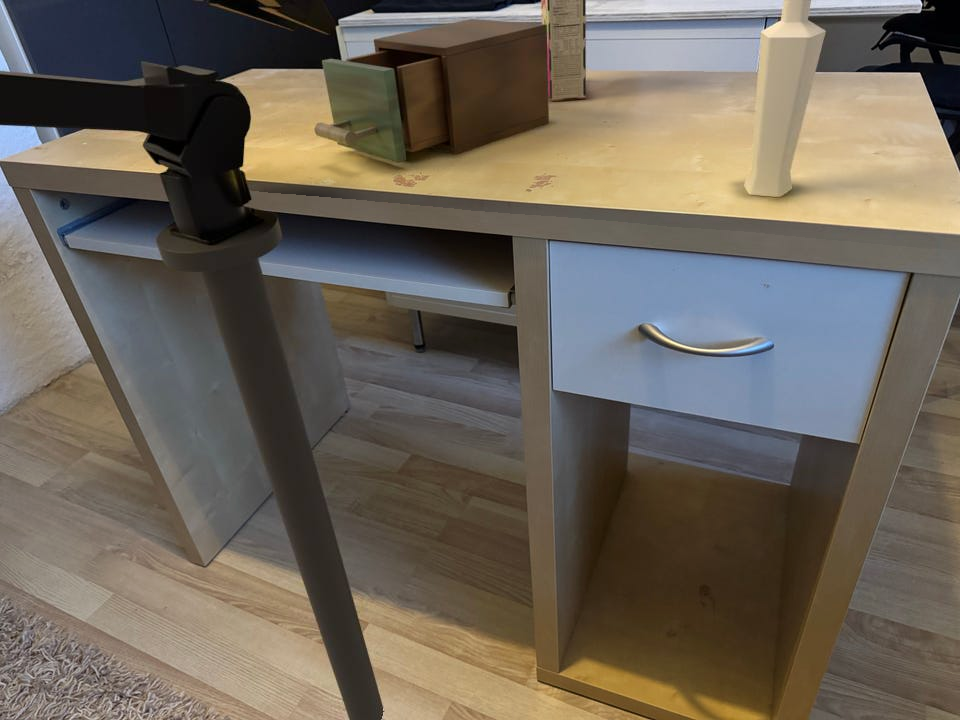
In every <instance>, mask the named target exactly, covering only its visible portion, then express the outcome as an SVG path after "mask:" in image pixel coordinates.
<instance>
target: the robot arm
mask: <svg viewBox="0 0 960 720" xmlns="http://www.w3.org/2000/svg"><path fill="white" fill-rule="evenodd" d="M196 1H197V2H204V1H205V0H194V2H196ZM206 3H207V4H208V5H210V6H213V7H217V8H220V9H224V10H226V11H229V12H232V13H235V14H240V15H243V16H246V17H248V18H252V19H255V20H259V21H262V22H265V23H268V24H271V25H273V26H278V27H280V28H282V29H286V30H289V31H293V32H294V31H296V30H297V29H298V26H299V25H302V26H304V27H306V28H309V29H311V30H314V31H317V32H319V33H322V34H325V35H328V36H329V35H330V36H331V35H333V32H334V30H335V29H336V26H337V25H336V22H335V21H334V19H333V17H332V15H331V14H330V12H329V10H328V9H327V7H326V5H325V4H324V2H323V1H322V0H207V1H206ZM140 67H141V71H142V76H143V77H141V78H136V79H130V80H123V81H122V80H121V81H117V80H108V79H107V80H106V79H97V78H95V79H94V78H84V77H83V78H82V77H74V76H62V75H52V74H51V75H50V74H40V73H30V72H17V71H7V70H0V126H9V127H10V126H11V127H30V128H31V127H32V128H55V129H56V128H57V129H77V130H97V131H98V130H100V131H118V132H119V131H120V132H123V131H124V132H138V133H144V134H146V137H145V138H144V141H143V143H142V147H143V149H144V151H145V152H146V153H147V154H148V155H149V157H150V159H152V161H153V162H154V164H156V165H158V166H162V167H163V166H164V167H165V168H167V169H166V170H164V171H163V172H160V173H159V176H160V180H161V183H162V186H163V189H164V192H165V194H166V197H167V200H168V204H169V206H170V209H171V212H172V216H173V218H174V222H176V224H177V227H174V228H172V229H170V230H169V231H170V234H171V235H172V236H176V237H179V238H183V239H187V240H190V241H194V242H197V243H201V244H205V245H209V246H212V245H215V244H218V243H220V242H222V241H224V240H226V239H228V238H230V237H233V236H235V235H237V234H239V233H241V232H243V231H245V230H248V229H250V228H252V227H254V226H256V225H258V224H260V223H263V222H264V218H263V216H260V215H256V214H252V213H253V212H254V209H255V208H253V207H249V206H246V204H249V203H250V201H252V199H253V198H252V194H251V192H250V187H249V185H248V184H249V183H248V181H247V177H246V173H245V171H243V170H242V169H241V168H243V166H244V159H245V145H246V144H245V143H246V137H247V135H248V132H249V130H250V129H251V122H252V114H251V107H250V104H249V102H248V100H247V98H246V95H244V94H243V93H242V91H241V90H240V89H239V87H238V86H237V85H234V84H233V83H230V82H227V81H223V80H220V79H218V78H219V72H218V71H216V70H210V69H205V68H199V67H195V66H190V65H180V66H177V67H171V66H167V65H162V64H157V63H152V62H147V61H141V62H140Z"/></svg>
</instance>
